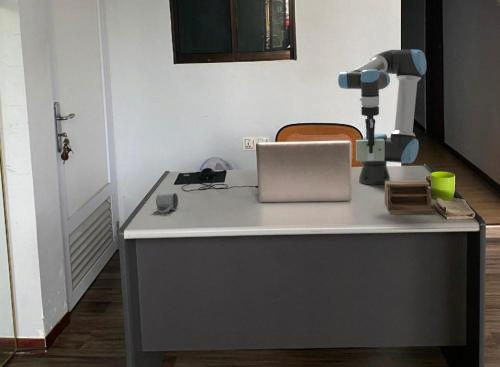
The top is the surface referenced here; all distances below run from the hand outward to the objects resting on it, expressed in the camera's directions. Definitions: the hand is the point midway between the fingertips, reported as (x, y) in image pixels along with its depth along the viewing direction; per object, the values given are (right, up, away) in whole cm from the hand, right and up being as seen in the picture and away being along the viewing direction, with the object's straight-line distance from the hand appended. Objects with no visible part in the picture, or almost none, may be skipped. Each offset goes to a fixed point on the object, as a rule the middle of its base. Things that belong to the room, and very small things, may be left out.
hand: (370, 159), depth 336 cm
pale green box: (0, 0, 0) cm, 0 cm away
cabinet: (+15, -21, -9) cm, 27 cm away
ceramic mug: (-89, -23, +2) cm, 92 cm away
